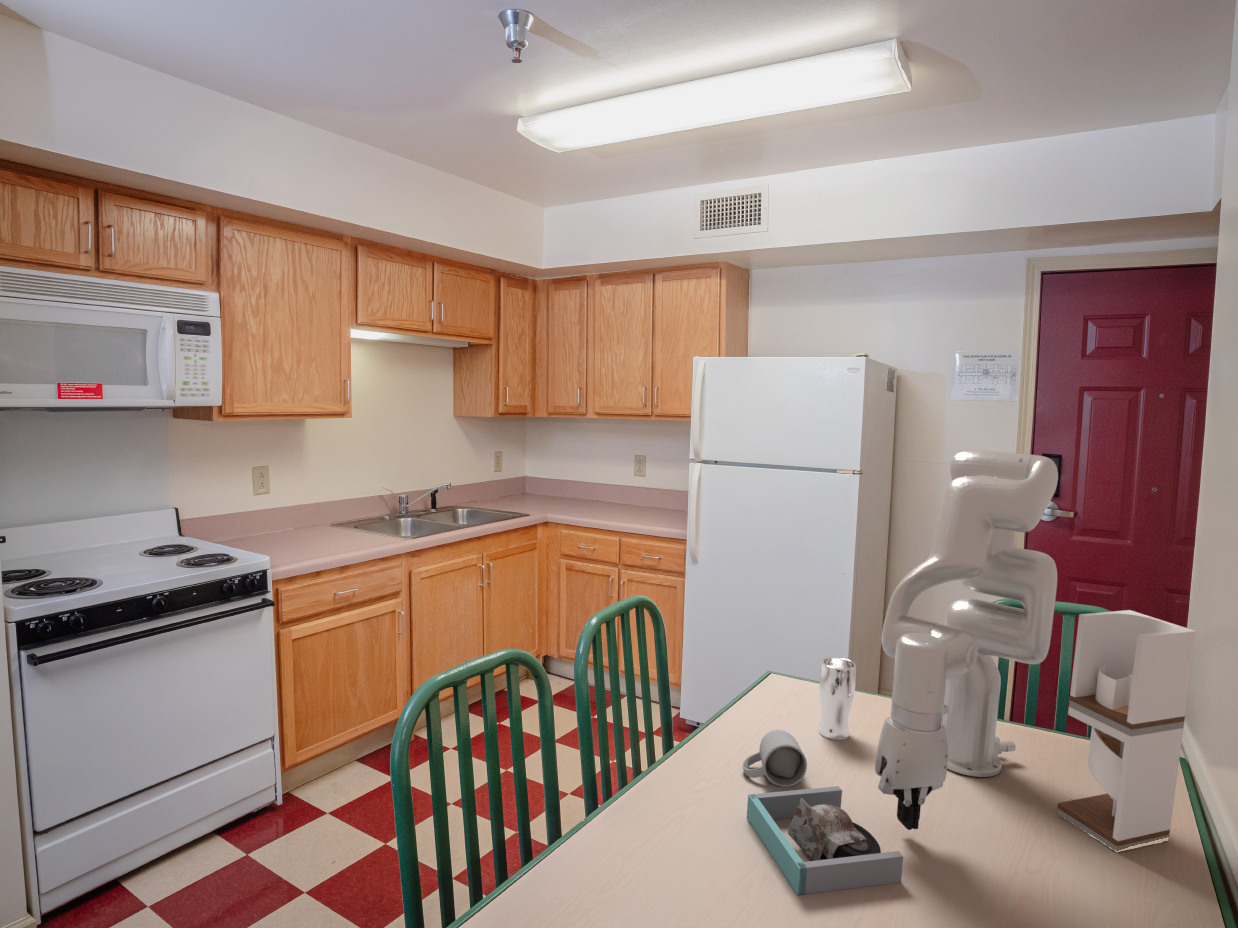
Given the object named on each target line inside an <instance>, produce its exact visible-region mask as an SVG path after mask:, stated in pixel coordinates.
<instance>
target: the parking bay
mask: <svg viewBox="0 0 1238 928" xmlns="http://www.w3.org/2000/svg"><path fill="white" fill-rule="evenodd" d="M842 795H843V790H842V788H841V787H840V786H839V785H837V786H828V787H827V786H826V787H816V788H815V787H814V788H806V789H794V790H784V791H783V790H782V791H772V792H761V793H751V794H747V803H746V804H747V809H746V819H747V821H748V822H749V823H750V825H751V826H752V828H753V829H754V831H755V833H756V834H757V836H758V837H759V839H760V841H761V842H762V843H763V844H764V846H765V848H766V850H767V851H768V852H769V854H770V855H771V858H773V860H774V862H775V863H776V865H777V866H778V868H779V869H780V871H781V873H782V875H783V876H784V877H785V879H786V880H787V882H788V883H789V885H790V886H791V888H792V890H793V891H794V892H795V894H796V895H797V896H802V895H808V894H809V895H810V894H818V893H819V894H820V893H827V892H833V891H841V890H851V889H857V888H865V887H866V888H867V887H874V886H880V885H881V886H882V885H889V884H897V883H901V882H902V878H903V877H902V875H903V866H904V865H903V862H904V855H903V854H902V853H901V852H900V851H899V850H896V851H895V850H894V851H888V852H881V853H877V854H868V855H860V856H851V857H843V858H834V859H829V858H827V859H820V860H817V861H812V860H810V861H804V860H802V859H801V857H800V856H799V854H798V853H797V852H796V850H795V848H794V846H793V845H792V844H791V843H790V842H789V840H788V839H787V837H786V836H785V834H784V832H783V831H782V830H781V829H780V827H779V826H778V824H777V823H776V821H775V820H781V819H783V820H784V819H791V818H792V819H793V817H794V815H795V812H796V809H797V807H798V804H799V802H800V799H801V798H802V799H804V800H805V802H806V803H807V804H808V805H809V806H815V805H823V804H824V805H833V806H836V807H839V808H841V809H842V797H843V796H842Z"/></svg>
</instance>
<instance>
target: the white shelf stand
mask: <svg viewBox="0 0 1238 928" xmlns="http://www.w3.org/2000/svg"><path fill="white" fill-rule="evenodd" d="M1077 623H1078V624H1077V630H1076V632H1077V633H1076V640H1075V647H1074V648H1075V649H1074V650H1075V651H1074V658H1073V667H1072V675H1071V682H1070V683H1071V684H1070V695H1069V702H1068V709H1067V710H1068V711H1067V715H1068V716H1070V717H1072V718H1074V719H1076V720H1078V721H1079V722H1082V723H1084V724H1086V725H1088V726H1091V732H1090V741H1089V749H1088V750H1089V751H1088V757H1087V766H1088V769H1089V772H1090V774H1091V776H1092V778H1093V779H1094V781H1095V782H1096V783H1097V784H1098V785H1099V787H1100V788H1101V789H1102V790H1103V791H1105V793H1103V794H1097V795H1093V796H1087V797H1082V798H1076V799H1072V800H1068V801H1062V802H1058V803H1057V806H1056V807H1057V809H1056V815H1057V814H1059V815H1060V816H1061V817H1063V818H1065V819H1066V820H1068V821H1069V822H1071V823H1073V824H1074V825H1076V826H1077V827H1079V828H1081V829H1082V830H1084V831H1086V832H1087V833H1089V834H1091V835H1093V836H1094V837H1096V838H1097V839H1099V840H1100V841H1102V842H1103V843H1105V844H1106V845H1107V846H1109V847H1111V848H1112V849H1114V850H1116V851H1119V850H1122V849H1125V848H1128V847H1130V846H1135V845H1138V844H1143V843H1148V842H1151V841H1155V840H1159V839H1163V838H1167V837H1169V838H1170V832H1171V825H1172V817H1173V811H1174V809H1173V808H1174V804H1175V795H1176V789H1177V787H1176V786H1177V781H1178V780H1177V779H1178V778H1177V777H1178V773H1179V764H1180V759H1181V758H1180V757H1181V749H1182V742H1183V735H1184V728H1185V727H1184V726H1185V720H1186V711H1187V705H1188V696H1189V690H1190V689H1189V688H1190V682H1191V675H1192V673H1191V672H1192V667H1193V659H1194V652H1195V645H1196V637H1197V630H1194V629H1190V628H1188V627H1185V626H1181V625H1178V624H1175V623H1171V622H1169V621H1165V620H1162V619H1159V618H1157V617H1156V618H1155V617H1153V616H1150V615H1146V614H1143V613H1141V612H1137V611H1136V610H1131V609H1126V610H1125V609H1123V610H1115V611H1114V610H1113V611H1103V612H1094V613H1093V612H1091V613H1081V614H1080V613H1079V615H1078V622H1077ZM1060 816H1059V817H1060ZM1061 817H1060V818H1061ZM1063 818H1062V819H1063ZM1066 820H1065V821H1066ZM1069 822H1068V823H1069ZM1071 823H1070V824H1071ZM1074 825H1073V826H1074ZM1077 827H1076V828H1077Z"/></svg>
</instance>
